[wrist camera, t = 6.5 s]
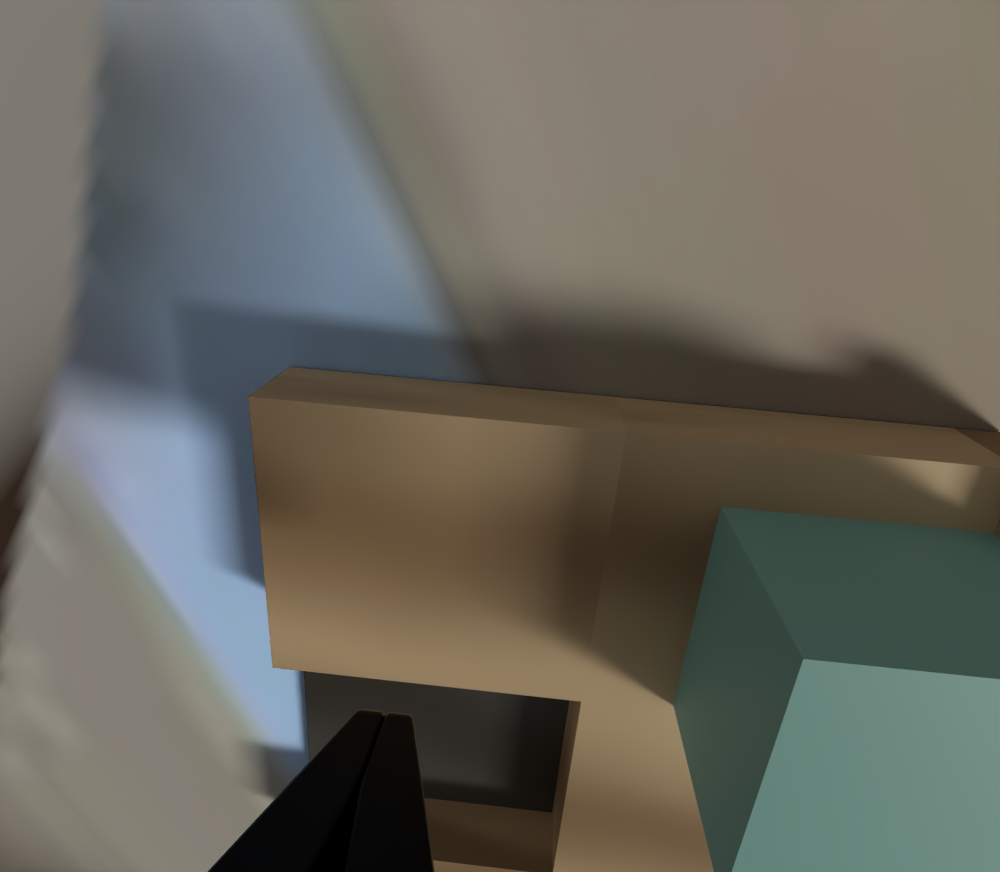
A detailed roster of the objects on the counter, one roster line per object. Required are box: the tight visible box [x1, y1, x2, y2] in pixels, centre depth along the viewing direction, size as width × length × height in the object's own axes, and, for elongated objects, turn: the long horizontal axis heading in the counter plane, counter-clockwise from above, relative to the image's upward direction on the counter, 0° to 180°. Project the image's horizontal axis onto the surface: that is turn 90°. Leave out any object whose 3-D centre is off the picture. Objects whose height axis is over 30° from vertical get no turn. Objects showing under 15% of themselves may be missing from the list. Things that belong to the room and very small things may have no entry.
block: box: [673, 507, 1000, 872], centre depth 11 cm, size 5×5×4 cm
